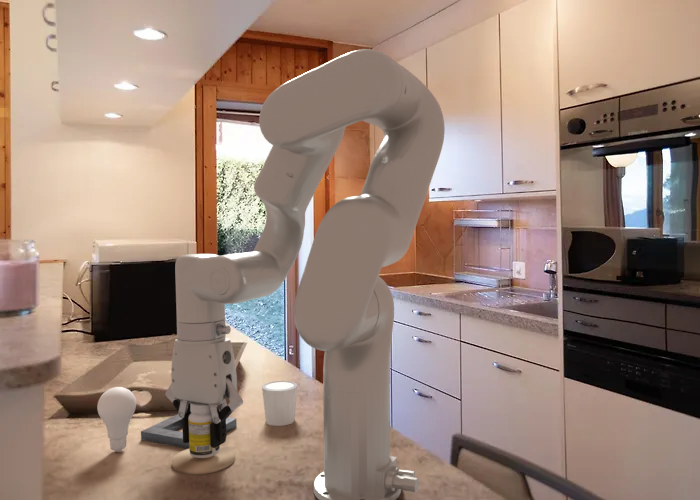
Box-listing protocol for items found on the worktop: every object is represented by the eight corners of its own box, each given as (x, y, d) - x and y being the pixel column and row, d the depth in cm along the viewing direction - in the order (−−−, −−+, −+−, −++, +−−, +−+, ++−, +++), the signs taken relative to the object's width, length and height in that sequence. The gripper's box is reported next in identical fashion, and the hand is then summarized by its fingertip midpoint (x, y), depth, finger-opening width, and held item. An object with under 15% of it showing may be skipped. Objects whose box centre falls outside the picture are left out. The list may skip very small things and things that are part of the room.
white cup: (255, 423, 110) (254, 387, 110) (275, 412, 116) (274, 378, 116) (285, 429, 107) (285, 392, 107) (304, 417, 113) (303, 382, 113)
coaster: (247, 453, 96) (247, 450, 96) (210, 478, 87) (210, 474, 87) (198, 445, 100) (198, 441, 100) (158, 468, 91) (158, 464, 91)
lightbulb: (144, 451, 97) (142, 387, 97) (107, 462, 93) (105, 395, 92) (128, 441, 102) (126, 380, 101) (92, 451, 97) (90, 387, 97)
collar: (236, 426, 109) (236, 418, 108) (195, 450, 98) (195, 441, 97) (185, 418, 113) (185, 410, 113) (141, 440, 102) (140, 431, 102)
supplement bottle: (207, 444, 96) (206, 395, 96) (225, 451, 93) (224, 400, 93) (183, 453, 93) (181, 402, 92) (201, 461, 90) (199, 408, 89)
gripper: (259, 330, 92) (261, 441, 93) (175, 323, 99) (178, 428, 100) (232, 339, 85) (235, 459, 86) (143, 331, 92) (147, 443, 93)
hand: (204, 441), depth 93 cm, fingers closed on supplement bottle, 4 cm apart
